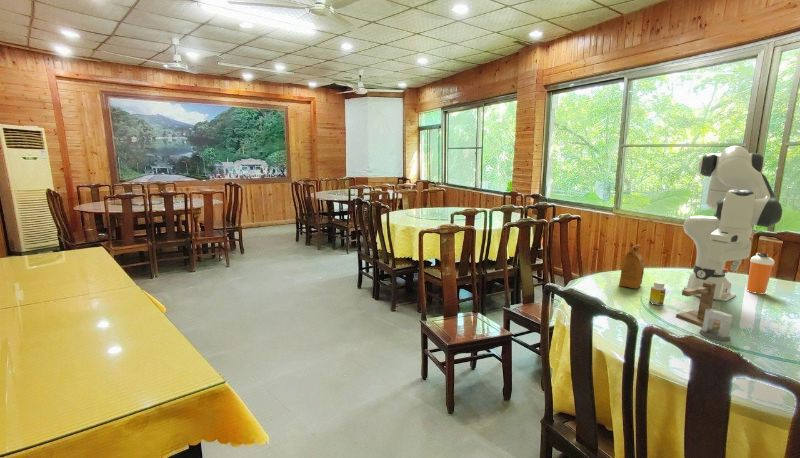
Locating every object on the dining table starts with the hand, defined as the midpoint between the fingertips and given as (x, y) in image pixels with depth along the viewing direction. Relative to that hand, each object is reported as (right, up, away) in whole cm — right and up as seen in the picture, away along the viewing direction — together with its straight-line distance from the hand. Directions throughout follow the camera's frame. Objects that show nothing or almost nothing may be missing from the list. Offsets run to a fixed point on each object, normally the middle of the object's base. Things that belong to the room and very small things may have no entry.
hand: (726, 271), depth 142 cm
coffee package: (+1, -15, +61) cm, 63 cm away
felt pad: (-1, -25, +4) cm, 25 cm away
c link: (-1, -24, +4) cm, 25 cm away
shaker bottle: (+63, -17, +57) cm, 87 cm away
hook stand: (+1, -23, +16) cm, 28 cm away
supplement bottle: (-2, -19, +36) cm, 41 cm away
